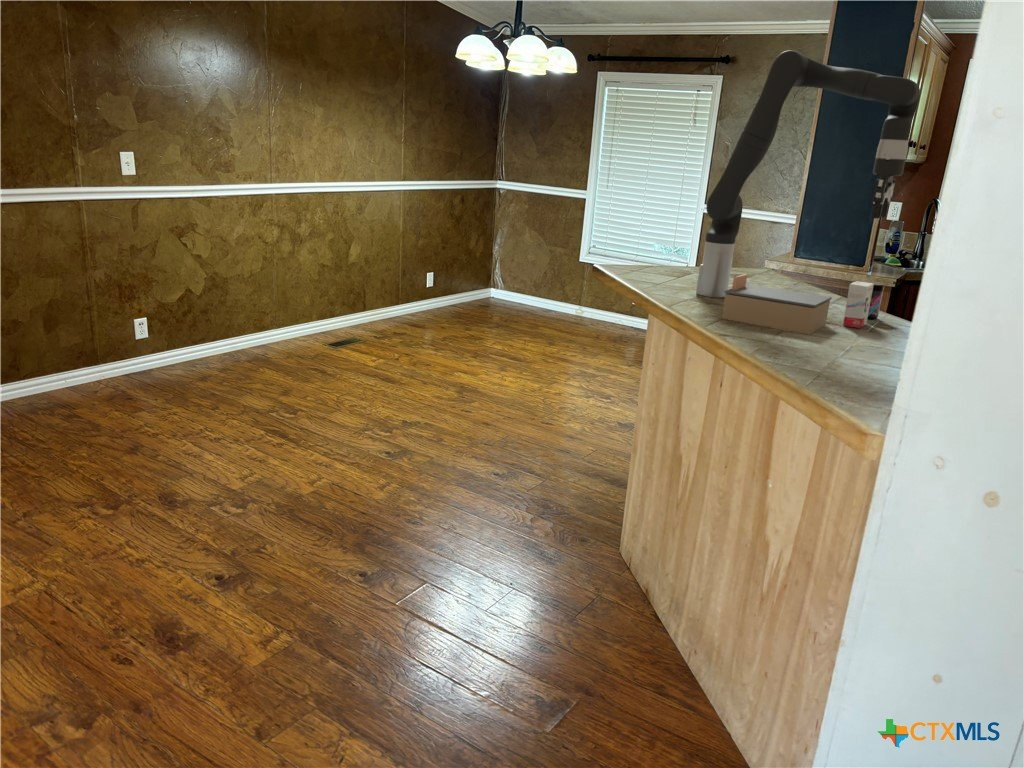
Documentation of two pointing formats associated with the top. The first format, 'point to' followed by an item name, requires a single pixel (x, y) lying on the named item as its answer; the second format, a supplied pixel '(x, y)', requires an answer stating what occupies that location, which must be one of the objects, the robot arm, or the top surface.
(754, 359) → the top surface
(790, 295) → the mailer lid
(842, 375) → the top surface
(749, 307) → the box
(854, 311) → the ink box
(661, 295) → the top surface
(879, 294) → the supplement container
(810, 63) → the robot arm
